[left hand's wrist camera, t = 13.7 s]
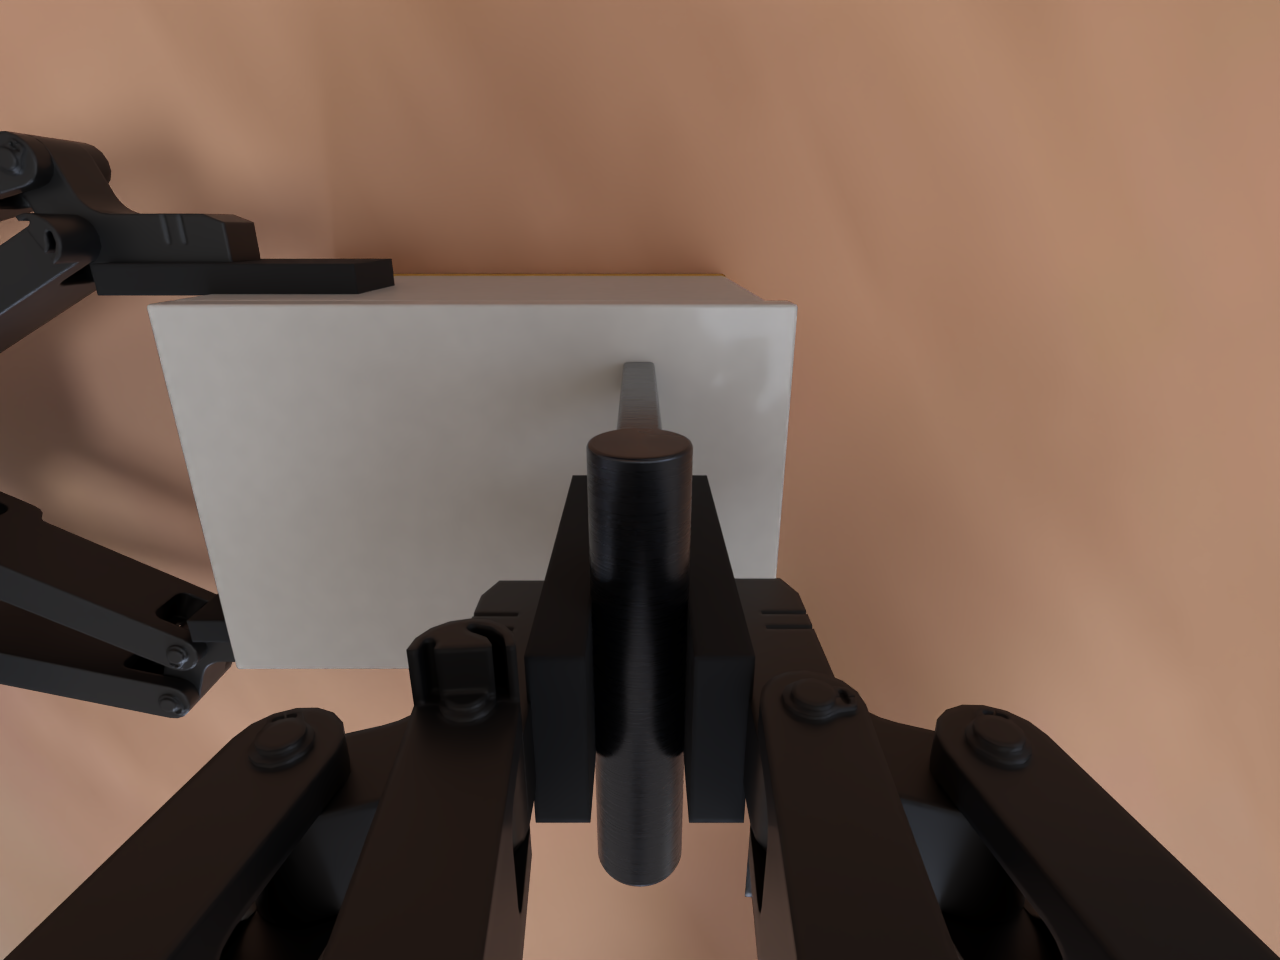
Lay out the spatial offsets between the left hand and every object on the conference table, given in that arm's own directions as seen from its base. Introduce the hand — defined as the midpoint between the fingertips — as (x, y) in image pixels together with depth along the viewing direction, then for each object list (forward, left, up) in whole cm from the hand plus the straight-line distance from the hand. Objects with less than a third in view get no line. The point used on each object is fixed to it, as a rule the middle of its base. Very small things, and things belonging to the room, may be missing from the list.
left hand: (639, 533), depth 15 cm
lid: (-3, +2, -2) cm, 4 cm away
